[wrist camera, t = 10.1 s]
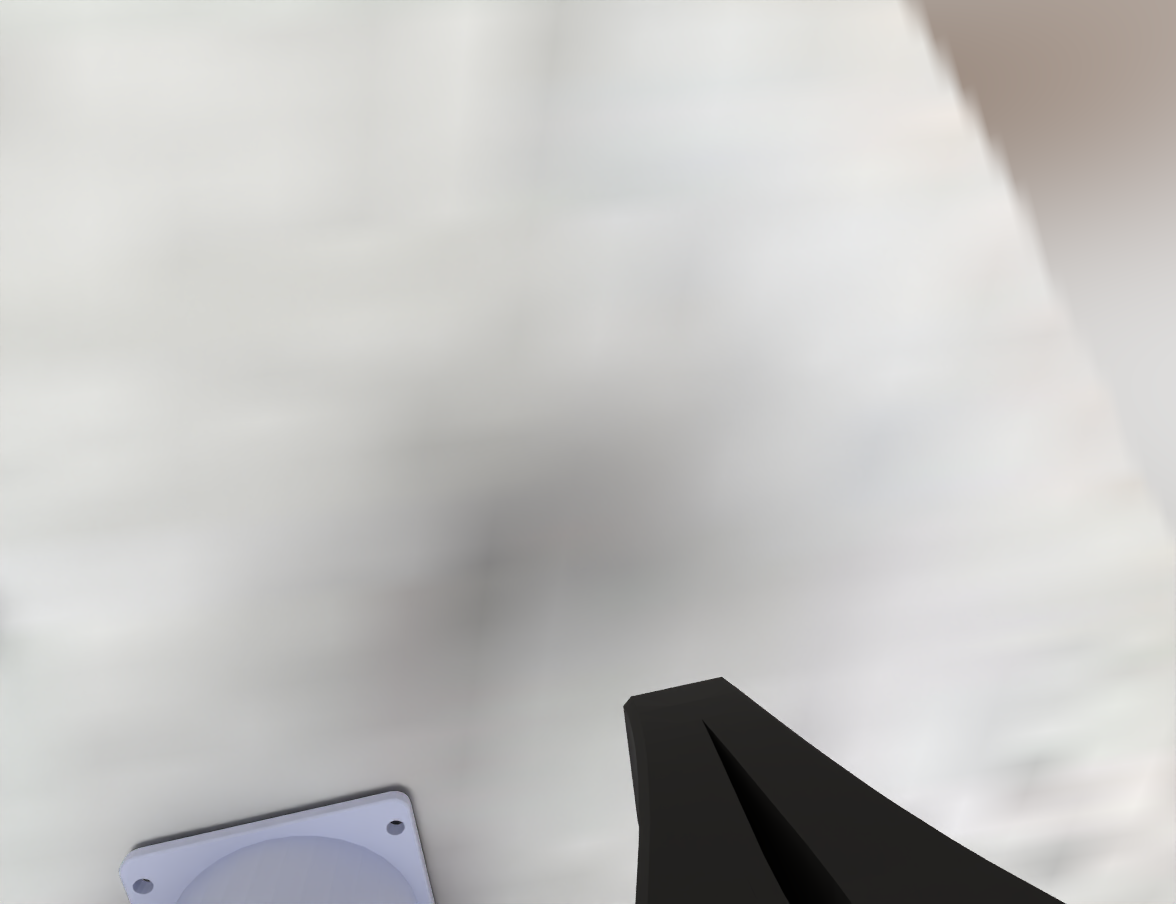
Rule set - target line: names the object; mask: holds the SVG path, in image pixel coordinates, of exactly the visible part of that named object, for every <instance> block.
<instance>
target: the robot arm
mask: <svg viewBox="0 0 1176 904" xmlns="http://www.w3.org/2000/svg"><path fill="white" fill-rule="evenodd" d="M623 707H624V715H625V723H626V731H627V739H628V747H629V755H630V763H631V771H632V779H633V787H634V795H635V803H636V811H637V819H638V824H639V848H638V867H637V885H636V903H635V904H1065V903H1064V902H1062V901H1060V900H1058V899H1056V898H1054V897H1053V896H1051V895H1049V894H1047V893H1045V892H1044V891H1042V890H1040V889H1038V888H1036V887H1035V886H1033V885H1031V884H1029V883H1027V882H1026V881H1024V880H1022V879H1020V878H1018V877H1016V876H1015V875H1013V874H1011V873H1009V872H1007V871H1006V870H1004V869H1002V868H1000V867H998V866H997V865H995V864H993V863H991V862H989V861H988V860H986V859H984V858H983V857H981V856H979V855H977V854H976V853H974V852H972V851H971V850H969V849H967V848H966V847H964V846H962V845H961V844H959V843H957V842H956V841H954V840H952V839H951V838H949V837H947V836H946V835H944V834H943V833H941V832H939V831H938V830H936V829H935V828H933V827H932V826H930V825H928V824H927V823H925V822H924V821H922V820H921V819H919V818H917V817H916V816H914V815H913V814H911V813H909V812H908V811H906V810H905V809H903V808H902V807H900V806H898V805H897V804H895V803H894V802H892V801H891V800H889V799H888V798H886V797H885V796H883V795H882V794H880V793H879V792H877V791H876V790H874V789H873V788H871V787H870V786H868V785H867V784H866V783H864V782H863V781H861V780H860V779H859V778H857V777H856V776H854V775H853V774H851V773H850V772H849V771H847V770H846V769H844V768H843V767H842V766H840V765H839V764H837V763H836V762H834V761H833V760H832V759H830V758H829V757H827V756H826V755H825V754H823V753H822V752H820V751H819V750H818V749H816V748H815V747H814V746H812V745H811V744H810V743H808V742H807V741H805V740H804V739H803V738H801V737H800V736H799V735H797V734H796V733H795V732H793V731H792V730H791V729H790V728H788V727H787V726H786V725H784V724H783V723H782V722H780V721H779V720H778V719H776V718H775V717H774V716H772V715H771V714H770V713H769V712H767V711H766V710H765V709H763V708H762V707H761V706H759V705H758V704H757V703H756V702H754V701H753V700H752V699H750V698H749V697H748V696H746V695H745V694H744V693H743V692H741V691H740V690H739V689H737V688H736V687H735V686H733V685H732V684H731V683H729V682H728V681H727V680H725V679H724V678H723V677H719V678H715V679H710V680H705V681H701V682H696V683H691V684H687V685H682V686H678V687H673V688H668V689H664V690H659V691H654V692H650V693H645V694H641V695H636V696H631V697H630V699H629V700H628V701H627V702H626V704H625V705H624V706H623ZM394 820H399V821H401V822H403V823H401V824H399V825H394V824H392V823H390V822H392V821H394ZM119 876H120V878H121V881H122V883H123V886H124V888H125V891H126V893H127V896H128V898H129V901H130V903H131V904H435V902H434V898H433V893H432V889H431V885H430V881H429V877H428V872H427V868H426V864H425V860H424V856H423V851H422V847H421V843H420V839H419V835H418V830H417V826H416V822H415V818H414V814H413V809H412V805H411V801H410V799H409V797H408V796H407V795H406V794H404V793H402V792H399V791H390V792H386V793H381V794H377V795H372V796H368V797H363V798H359V799H355V800H350V801H346V802H341V803H337V804H332V805H328V806H323V807H319V808H315V809H310V810H306V811H301V812H297V813H292V814H288V815H283V816H279V817H275V818H270V819H266V820H261V821H257V822H252V823H248V824H243V825H239V826H235V827H230V828H226V829H221V830H217V831H212V832H208V833H204V834H199V835H195V836H190V837H186V838H181V839H177V840H172V841H168V842H164V843H159V844H155V845H150V846H146V847H141V848H137V849H135V850H132V851H131V852H130V853H129V854H127V855H126V857H125V859H124V860H123V862H122V864H121V866H120V868H119ZM142 879H147V880H150V881H151V882H146V881H144V880H142Z"/></svg>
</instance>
